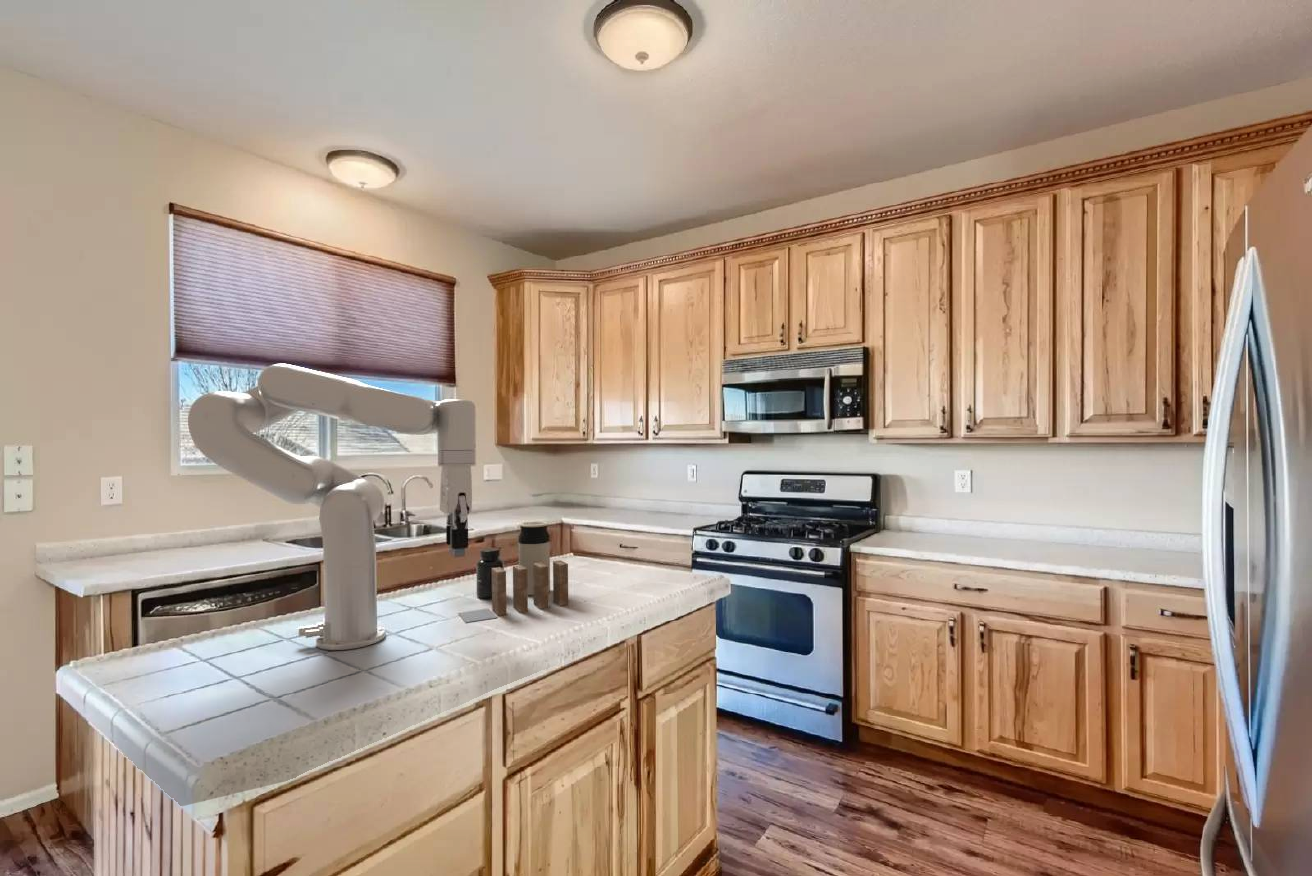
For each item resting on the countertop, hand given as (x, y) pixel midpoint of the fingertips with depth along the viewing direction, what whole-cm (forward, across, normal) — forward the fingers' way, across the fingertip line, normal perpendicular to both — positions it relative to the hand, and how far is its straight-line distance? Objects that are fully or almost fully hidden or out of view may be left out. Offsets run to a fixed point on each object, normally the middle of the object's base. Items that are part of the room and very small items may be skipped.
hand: (457, 545), depth 131 cm
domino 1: (+2, 0, 0) cm, 2 cm away
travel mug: (+18, -24, +24) cm, 39 cm away
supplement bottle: (+18, -26, +13) cm, 34 cm away
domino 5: (+18, -10, +26) cm, 33 cm away
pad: (+18, -10, +6) cm, 22 cm away
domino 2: (+18, -10, +11) cm, 24 cm away
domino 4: (+18, -10, +21) cm, 30 cm away
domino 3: (+18, -10, +16) cm, 26 cm away
